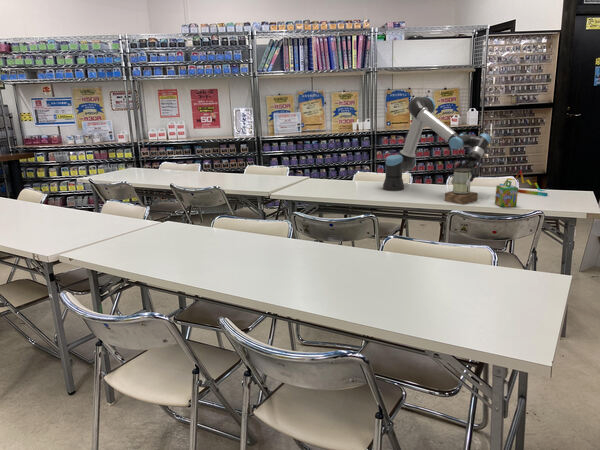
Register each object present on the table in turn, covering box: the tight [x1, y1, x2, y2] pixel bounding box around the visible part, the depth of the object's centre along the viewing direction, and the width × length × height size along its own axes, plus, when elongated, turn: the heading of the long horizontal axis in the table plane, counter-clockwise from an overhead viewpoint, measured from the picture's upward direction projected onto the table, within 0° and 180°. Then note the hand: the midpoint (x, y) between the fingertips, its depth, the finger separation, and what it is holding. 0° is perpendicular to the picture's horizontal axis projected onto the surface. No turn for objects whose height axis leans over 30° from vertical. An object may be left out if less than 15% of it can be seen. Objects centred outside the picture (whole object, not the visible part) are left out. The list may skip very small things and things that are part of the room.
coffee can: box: [452, 168, 472, 193], centre depth 289 cm, size 10×10×14 cm
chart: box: [498, 169, 549, 197], centre depth 307 cm, size 30×3×15 cm, turn 44°
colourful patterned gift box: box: [494, 179, 519, 208], centre depth 277 cm, size 9×9×15 cm
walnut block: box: [444, 190, 479, 205], centre depth 292 cm, size 14×14×5 cm
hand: (459, 183), depth 288 cm, fingers closed on coffee can, 10 cm apart
